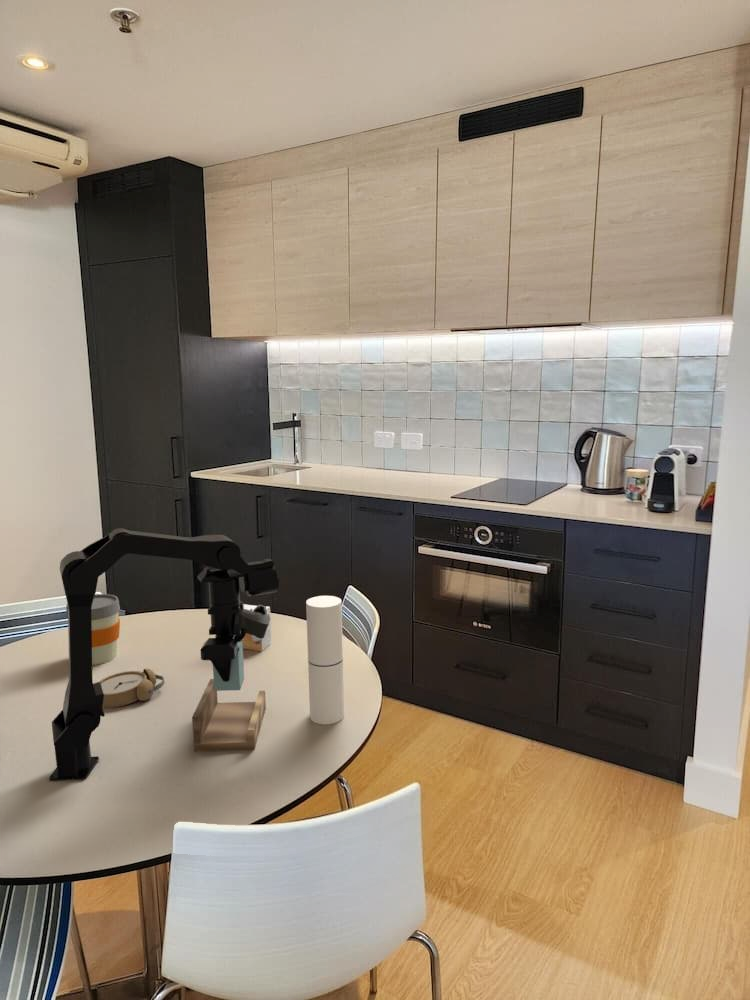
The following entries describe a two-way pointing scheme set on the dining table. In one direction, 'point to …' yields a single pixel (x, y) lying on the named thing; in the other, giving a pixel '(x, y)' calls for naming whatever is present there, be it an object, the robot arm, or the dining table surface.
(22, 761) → the dining table surface
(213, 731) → the cleat board
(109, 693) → the alarm clock
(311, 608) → the cylindrical container
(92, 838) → the dining table surface
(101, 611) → the reusable coffee cup
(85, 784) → the dining table surface
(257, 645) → the small box
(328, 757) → the dining table surface
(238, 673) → the teal block
